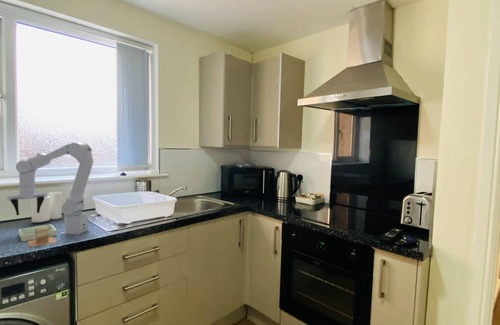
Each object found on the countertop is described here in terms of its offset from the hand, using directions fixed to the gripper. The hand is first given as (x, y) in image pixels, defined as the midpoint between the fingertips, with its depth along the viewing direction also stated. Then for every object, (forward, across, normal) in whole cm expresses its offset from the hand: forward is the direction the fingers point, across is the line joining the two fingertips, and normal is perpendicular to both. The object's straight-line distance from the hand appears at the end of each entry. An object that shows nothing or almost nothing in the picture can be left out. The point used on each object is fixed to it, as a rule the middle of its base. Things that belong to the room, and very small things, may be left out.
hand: (28, 213), depth 132 cm
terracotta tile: (+9, -2, +21) cm, 23 cm away
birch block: (+9, -2, +20) cm, 22 cm away
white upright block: (+10, -15, -23) cm, 29 cm away
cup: (+10, -7, -18) cm, 21 cm away
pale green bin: (+9, -2, +8) cm, 13 cm away
